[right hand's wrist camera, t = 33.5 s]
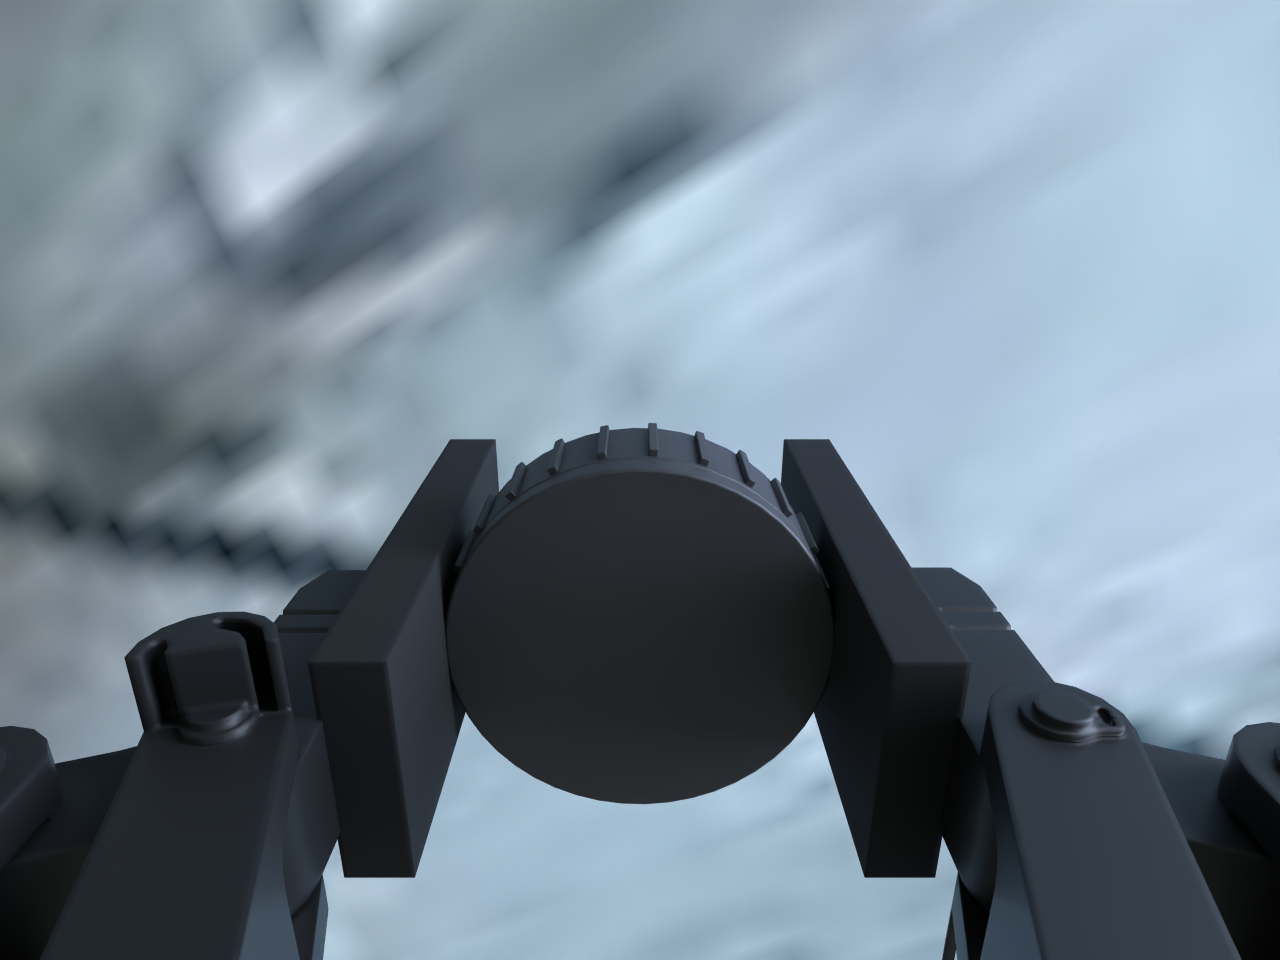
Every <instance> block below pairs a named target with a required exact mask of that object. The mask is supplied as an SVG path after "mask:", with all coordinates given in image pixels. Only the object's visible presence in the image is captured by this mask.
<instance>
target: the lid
mask: <svg viewBox="0 0 1280 960" xmlns="http://www.w3.org/2000/svg"><path fill="white" fill-rule="evenodd" d="M818 552H819V550H818V548H817V546H816V543H815V541H814V539H813V537H812V534H811V532H810V530H809V528H808V525H807V523H806V521H805V518H804V516H803V515H802V513H799V514H796V515H795V513H794V511H793V509H792V507H791V506H790V505H789V503H788V500H787V498H786V495H785V493H784V491H783V488H782V486H781V484H780V482H779V481H778V480H777V479H776V478H774V479H773V480H772V481H770V480H769V479H768V478H767V477H766V476H765V475H764V474H763V473H762V472H760V471H759V470H758V469H757V468H755V467H754V466H753V465H752V464H750V463H749V461H748V458H747V455H746V453H744V452H743V451H741V450H739V451H738V453H737V454H735V453H733V452H732V451H730V450H728V449H726V448H724V447H722V446H719V445H717V444H715V443H713V442H710V441H708V440H706V439H705V437H704V433H701V432H698V431H696V433H695V436H692V435H689V434H685V433H681V432H675V431H669V430H662V429H657V424H656V423H649V424H648V428H629V429H618V430H609V426H608V425H607V426H601V427H600V433H595V434H591V435H586V436H583V437H581V438H578V439H575V440H572V441H569V442H567V443H564V441H563V439H560V440H558V441H556V442H555V444H554V448H553V449H552V450H550V451H548V452H546V453H544V454H542V455H541V456H539V457H538V458H537V459H535V460H534V461H532V462H531V463H529V464H528V465H527V466H526V465H525V464H524V463H523V462H521V463H520V464H519V465H517V466H516V469H515V472H514V474H513V477H512V479H511V480H509V481H508V482H507V483H506V485H505V486H504V487H503V488H502V489H501V491H500V492H499V493H498V494H497V496H494V495H493V494H490V495H489V496H488V498H487V499H486V502H485V504H484V506H483V508H482V511H481V513H480V515H479V518H478V520H477V522H476V525H475V527H474V529H473V531H472V530H470V531H469V533H468V536H467V538H466V540H465V543H464V545H463V547H462V549H461V552H460V554H459V556H458V558H457V561H456V563H455V565H454V568H453V572H456V573H458V576H457V578H456V581H455V583H454V585H453V588H452V591H451V595H450V599H449V603H448V607H447V611H446V621H445V637H446V648H447V658H448V667H449V672H450V677H451V680H452V682H453V685H454V688H455V690H456V693H457V696H458V698H459V700H460V702H461V704H462V706H463V707H464V709H465V711H466V713H467V715H468V717H469V718H470V719H471V721H472V722H473V724H474V725H475V726H476V728H477V729H478V730H479V732H480V733H481V734H482V736H483V737H484V738H485V739H486V740H487V741H488V742H489V743H490V744H491V745H492V746H493V747H494V748H495V749H496V750H497V751H498V752H499V753H500V754H502V755H503V756H504V757H505V758H507V759H508V760H509V761H510V762H511V763H513V764H514V765H515V766H517V767H518V768H520V769H522V770H523V771H525V772H526V773H528V774H530V775H531V776H533V777H534V778H536V779H538V780H541V781H543V782H545V783H547V784H549V785H551V786H553V787H555V788H558V789H561V790H564V791H567V792H569V793H572V794H575V795H578V796H583V797H587V798H591V799H595V800H600V801H608V802H615V803H626V804H652V803H665V802H673V801H678V800H684V799H689V798H694V797H697V796H700V795H704V794H707V793H710V792H714V791H716V790H719V789H721V788H724V787H726V786H728V785H731V784H733V783H736V782H737V781H739V780H741V779H743V778H745V777H746V776H748V775H750V774H752V773H754V772H755V771H757V770H758V769H760V768H761V767H762V766H764V765H765V764H766V763H768V762H769V761H771V760H772V759H773V758H775V757H776V756H777V755H778V754H779V753H780V752H781V751H782V750H783V749H784V748H785V747H787V746H788V745H789V744H790V743H791V742H792V740H793V739H794V738H795V737H796V736H797V735H798V733H799V732H800V731H801V730H802V729H803V727H804V726H805V725H806V723H807V722H808V720H809V718H810V717H811V715H812V714H813V712H814V711H815V709H816V707H817V705H818V703H819V701H820V699H821V696H822V694H823V692H824V690H825V688H826V684H827V681H828V678H829V674H830V671H831V662H832V652H833V642H834V626H835V621H834V615H833V609H832V604H831V599H830V596H829V589H830V587H829V585H828V582H827V580H826V578H825V575H824V573H823V571H822V568H821V566H820V564H819V561H818V559H817V557H816V553H818Z"/></svg>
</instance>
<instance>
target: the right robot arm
mask: <svg viewBox="0 0 1280 960" xmlns="http://www.w3.org/2000/svg"><path fill="white" fill-rule="evenodd" d="M781 486H782V488H783V491H784V493H785V495H786V498H787V500H788V503H789V505H790V506H791V507H792V509H793V511H794V513H795V515H796V514H799V513H802V515H803V516H804V518H805V521H806V523H807V525H808V528H809V530H810V532H811V534H812V537H813V539H814V541H815V543H816V546H817V548H818V550H819V552H818V553H816V557H817V559H818V561H819V564H820V566H821V568H822V571H823V573H824V575H825V578H826V580H827V582H828V585H829V587H830V589H829V596H830V599H831V604H832V609H833V615H834V621H835V626H834V642H833V652H832V662H831V671H830V674H829V678H828V681H827V684H826V688H825V690H824V692H823V694H822V696H821V699H820V701H819V703H818V705H817V707H816V709H815V711H814V714H815V717H816V720H817V724H818V727H819V730H820V733H821V737H822V740H823V743H824V746H825V750H826V753H827V756H828V759H829V763H830V766H831V769H832V773H833V776H834V779H835V782H836V786H837V789H838V792H839V795H840V799H841V802H842V805H843V808H844V812H845V815H846V818H847V821H848V825H849V828H850V831H851V834H852V838H853V841H854V844H855V848H856V851H857V854H858V857H859V861H860V864H861V867H862V870H863V874H864V877H865V878H935V875H936V869H937V864H938V858H939V852H940V846H941V840H942V836H943V838H944V841H945V843H946V845H947V847H948V850H949V852H950V854H951V857H952V859H953V861H954V863H955V866H956V868H957V870H958V874H957V880H956V885H955V891H954V896H953V902H952V907H951V913H950V918H949V924H948V929H947V934H946V940H945V945H944V952H943V958H942V960H954V958H955V953H956V951H957V960H1280V723H1272V722H1267V723H1260V724H1253V725H1246V726H1245V727H1244V728H1243V729H1241V730H1240V731H1239V732H1237V733H1236V734H1235V735H1234V736H1233V739H1232V742H1231V745H1230V749H1229V752H1228V755H1227V758H1226V760H1222V759H1217V758H1212V757H1207V756H1202V755H1197V754H1192V753H1187V752H1182V751H1177V750H1172V749H1167V748H1162V747H1158V746H1154V745H1150V744H1147V743H1143V742H1141V740H1140V738H1139V736H1138V733H1137V731H1136V730H1135V728H1134V727H1133V726H1132V724H1131V723H1130V722H1129V721H1128V719H1127V718H1126V717H1125V715H1124V714H1123V713H1122V712H1120V711H1119V710H1117V709H1116V708H1114V707H1113V706H1112V705H1110V704H1109V703H1107V702H1106V701H1105V700H1103V699H1102V698H1099V697H1097V696H1095V695H1092V694H1090V693H1088V692H1086V691H1083V690H1081V689H1079V688H1076V687H1073V686H1068V685H1064V684H1060V683H1055V682H1054V681H1053V680H1052V678H1051V677H1050V676H1049V675H1048V673H1047V672H1046V671H1045V669H1044V668H1043V667H1042V665H1041V664H1040V663H1039V662H1038V660H1037V659H1036V658H1035V656H1034V655H1033V654H1032V653H1031V651H1030V650H1029V649H1028V647H1027V646H1026V645H1025V643H1024V642H1023V641H1022V640H1021V638H1020V637H1019V636H1018V634H1017V633H1016V632H1015V630H1011V628H1010V627H1011V625H1010V624H1009V623H1008V621H1007V620H1006V619H1005V618H1004V616H1003V615H1002V614H1001V612H997V607H996V606H995V605H994V603H993V602H992V601H991V599H990V598H989V597H988V595H987V594H986V593H985V592H984V590H983V589H982V588H981V586H979V585H978V584H976V583H975V582H973V581H971V580H970V579H968V578H967V577H965V576H963V575H962V574H960V573H959V572H957V571H955V570H954V569H952V568H911V566H910V565H909V563H908V562H907V560H906V559H905V557H904V555H903V554H902V552H901V551H900V549H899V548H898V546H897V545H896V543H895V541H894V540H893V538H892V537H891V535H890V534H889V532H888V531H887V529H886V527H885V526H884V524H883V523H882V521H881V520H880V518H879V517H878V515H877V513H876V512H875V510H874V509H873V507H872V506H871V504H870V502H869V501H868V499H867V498H866V496H865V495H864V493H863V492H862V490H861V488H860V487H859V485H858V484H857V482H856V481H855V479H854V478H853V476H852V474H851V473H850V471H849V470H848V468H847V467H846V465H845V464H844V462H843V460H842V459H841V457H840V456H839V454H838V453H837V451H836V449H835V448H834V446H833V445H832V443H831V442H830V440H829V439H784V446H783V462H782V477H781ZM498 493H499V484H498V469H497V454H496V439H450V441H449V442H448V444H447V446H446V447H445V449H444V450H443V452H442V453H441V455H440V456H439V458H438V460H437V461H436V463H435V464H434V466H433V467H432V469H431V470H430V472H429V474H428V475H427V477H426V478H425V480H424V481H423V483H422V484H421V486H420V488H419V489H418V491H417V492H416V494H415V495H414V497H413V499H412V500H411V502H410V503H409V505H408V506H407V508H406V509H405V511H404V513H403V514H402V516H401V517H400V519H399V520H398V522H397V523H396V525H395V527H394V528H393V530H392V531H391V533H390V534H389V536H388V537H387V539H386V541H385V542H384V544H383V545H382V547H381V548H380V550H379V551H378V553H377V555H376V556H375V558H374V559H373V561H372V562H371V564H370V565H369V567H368V569H367V570H329V571H327V572H326V573H324V574H322V575H321V576H319V577H318V578H316V579H315V580H313V581H311V582H310V583H308V584H307V585H305V586H303V587H302V588H300V589H299V590H298V592H297V593H296V594H295V596H294V597H293V598H292V600H291V601H290V602H289V603H288V605H287V606H286V607H285V609H284V610H283V615H279V617H278V618H277V619H276V620H275V622H274V623H273V622H272V621H270V620H269V619H268V618H266V617H265V616H261V615H257V614H252V613H247V612H217V613H212V614H207V615H202V616H197V617H192V618H188V619H185V620H183V621H180V622H177V623H175V624H172V625H169V626H166V627H164V628H161V629H160V630H158V631H156V632H155V633H153V634H151V635H150V636H148V637H146V638H145V639H143V640H141V641H140V642H138V643H137V644H136V645H135V647H134V648H133V649H132V650H131V651H130V652H129V653H128V654H127V655H126V656H125V657H124V658H125V662H126V665H127V669H128V673H129V677H130V680H131V684H132V688H133V692H134V696H135V699H136V703H137V707H138V711H139V714H140V718H141V722H142V726H143V730H144V733H143V735H142V737H141V739H140V741H139V744H138V746H136V747H132V748H128V749H124V750H121V751H116V752H111V753H106V754H101V755H96V756H91V757H86V758H81V759H76V760H72V761H67V762H62V763H57V764H55V763H54V760H53V757H52V754H51V751H50V748H49V745H48V741H47V739H46V738H45V737H43V736H42V735H41V734H40V733H38V732H37V731H36V730H34V729H28V728H21V727H14V726H7V727H0V960H323V953H324V944H325V935H326V926H327V917H328V904H327V897H326V891H325V885H324V880H323V874H322V873H323V871H324V869H325V866H326V864H327V862H328V860H329V857H330V855H331V853H332V850H333V848H334V846H335V844H336V841H337V839H338V843H339V849H340V855H341V861H342V867H343V873H344V878H411V877H415V875H416V872H417V869H418V865H419V862H420V859H421V856H422V852H423V849H424V846H425V843H426V839H427V836H428V833H429V830H430V826H431V823H432V820H433V816H434V813H435V810H436V807H437V803H438V800H439V797H440V794H441V790H442V787H443V784H444V781H445V777H446V774H447V771H448V768H449V764H450V761H451V758H452V755H453V751H454V748H455V745H456V741H457V738H458V735H459V732H460V728H461V725H462V722H463V719H464V715H465V712H466V711H465V709H464V707H463V706H462V704H461V702H460V700H459V698H458V696H457V693H456V690H455V688H454V685H453V682H452V680H451V677H450V672H449V667H448V658H447V648H446V637H445V621H446V611H447V607H448V603H449V599H450V595H451V591H452V588H453V585H454V583H455V581H456V578H457V576H458V573H456V572H453V568H454V565H455V563H456V561H457V558H458V556H459V554H460V552H461V549H462V547H463V545H464V543H465V540H466V538H467V536H468V533H469V531H470V530H472V531H473V529H474V527H475V525H476V522H477V520H478V518H479V515H480V513H481V511H482V508H483V506H484V504H485V502H486V499H487V498H488V496H489V495H490V494H493V495H494V496H497V494H498Z"/></svg>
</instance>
